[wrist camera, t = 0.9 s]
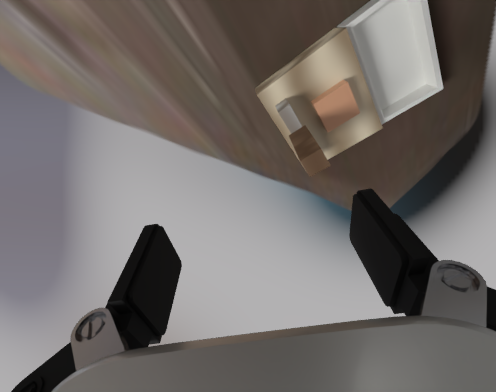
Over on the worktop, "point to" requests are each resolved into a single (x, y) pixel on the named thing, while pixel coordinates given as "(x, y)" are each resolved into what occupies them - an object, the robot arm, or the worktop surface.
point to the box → (395, 53)
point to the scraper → (302, 141)
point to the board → (317, 82)
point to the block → (335, 106)
